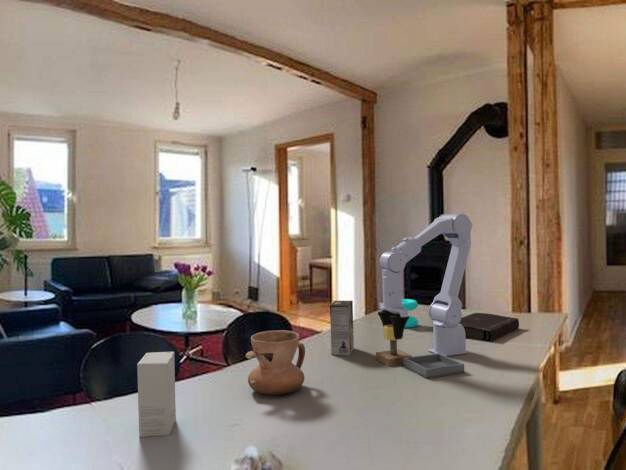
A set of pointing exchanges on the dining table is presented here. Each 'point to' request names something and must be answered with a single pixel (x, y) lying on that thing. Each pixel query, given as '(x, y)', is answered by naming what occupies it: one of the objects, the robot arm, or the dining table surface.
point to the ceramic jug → (276, 362)
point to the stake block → (392, 355)
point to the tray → (433, 365)
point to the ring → (389, 332)
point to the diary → (488, 326)
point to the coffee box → (341, 327)
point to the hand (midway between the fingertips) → (393, 336)
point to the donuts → (409, 306)
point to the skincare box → (156, 394)
